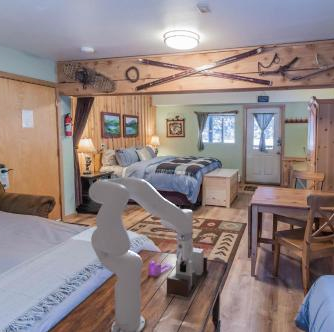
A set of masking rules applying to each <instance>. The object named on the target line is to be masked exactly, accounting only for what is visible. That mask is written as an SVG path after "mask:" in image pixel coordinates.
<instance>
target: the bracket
mask: <svg viewBox="0 0 334 332" xmlns="http://www.w3.org/2000/svg"><path fill="white" fill-rule="evenodd" d="M171 268H172V265H171V264H170V263H164V264H161V263H157V262H156V261H153V260H151V261H150V262H149V263H148V276H149V277H153V276H155V277H157V276H159V275H161V274H163V273H164V272H167V270H169V269H171Z"/></svg>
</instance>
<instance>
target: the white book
mask: <svg viewBox="0 0 334 332" xmlns="http://www.w3.org/2000/svg"><path fill="white" fill-rule="evenodd" d="M181 261H183V262H184V260H181ZM192 263H193V261H190V260H186V272H180V264H178V260H177V259H175V274H181V275H186V276H191V286H192Z"/></svg>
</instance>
